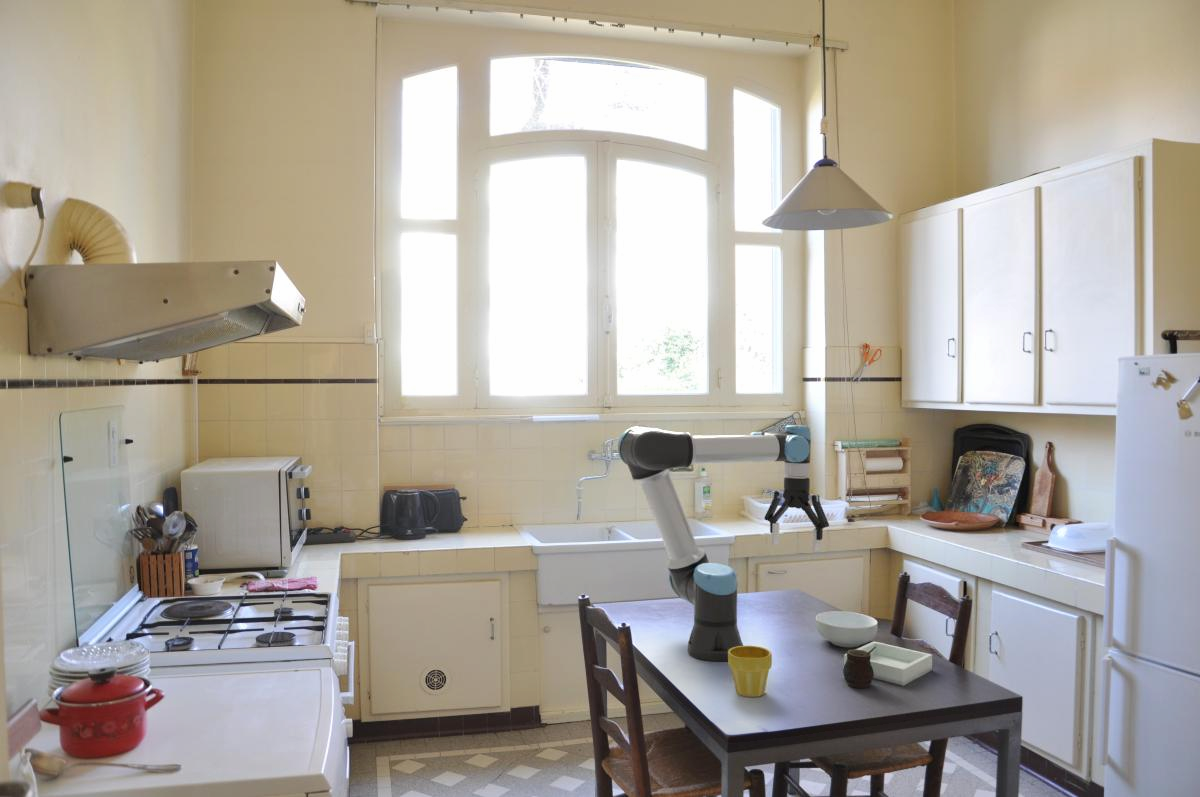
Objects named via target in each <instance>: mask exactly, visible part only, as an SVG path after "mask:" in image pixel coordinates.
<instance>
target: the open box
mask: <svg viewBox="0 0 1200 797" xmlns="http://www.w3.org/2000/svg"><path fill="white" fill-rule="evenodd" d="M875 646H876V648H875V649H874V650H873V651H872V652H871V653H870V655H871V656H870V663H871V666H872V668H873V672H874V676H873V679H875V680H880V681H883V682H888V683H892V684H895V685H900V686H901V687H902V686H903V687H904V686H906V685H908V684H909V683H911V682H913V681H915V680H917V679H919V678H920V677H922V676H925V675H926V674H928V673H930V672H932V671H933V654H931V653H926V652H923V651H918V650H913V649H908V648H905V647H900V646H896V645H891V644H887V643H883V642H878V641H874V640H873V641H870V643H869V642H868V643H866V644H864V645H862V646H861V647H860V646H859V647H857V648H855V649H856V650H863V651H867V652H870V650H872V649H873V648H874V647H875ZM846 661H847V653H845V654H843V666H844V665H845V663H846Z"/></svg>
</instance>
